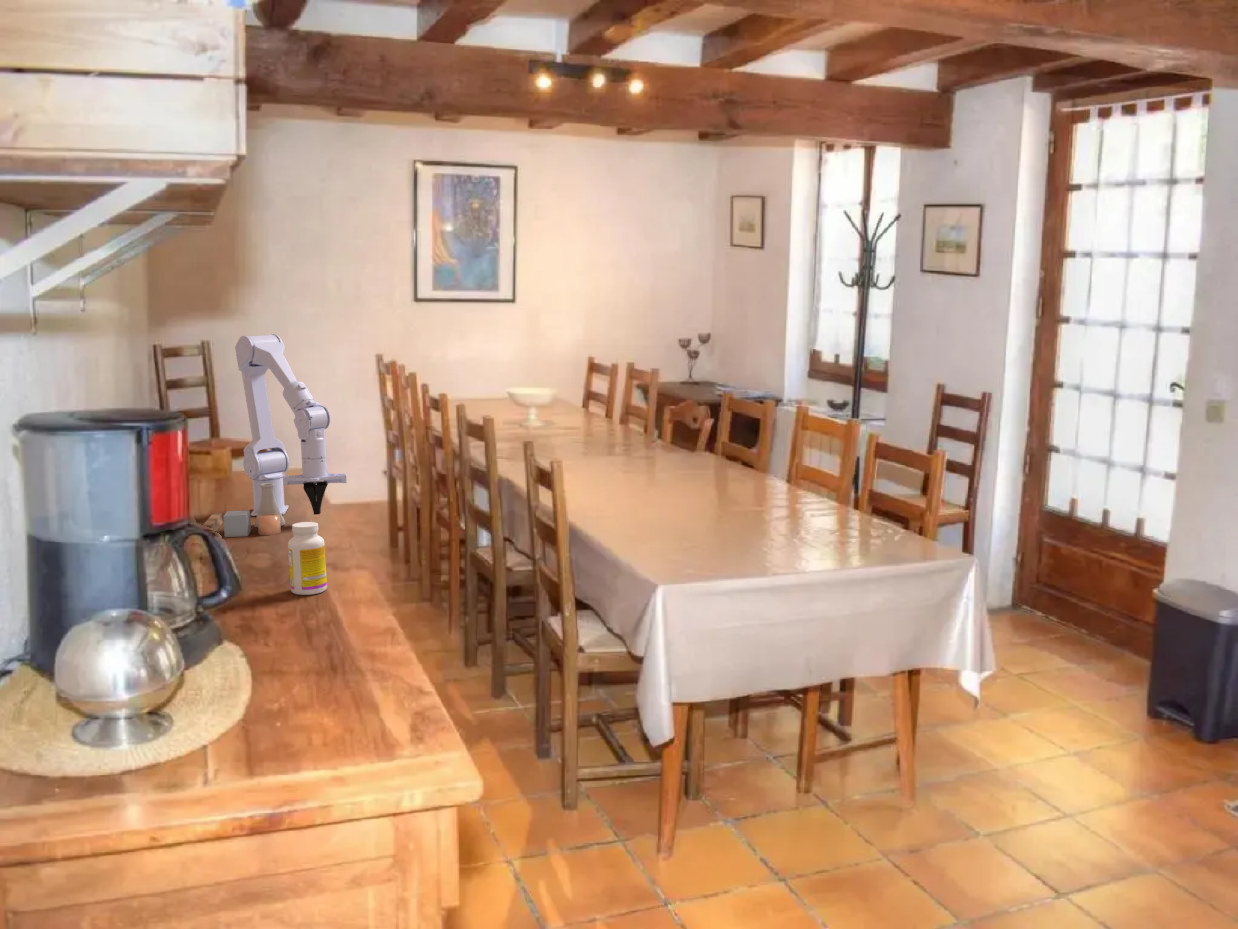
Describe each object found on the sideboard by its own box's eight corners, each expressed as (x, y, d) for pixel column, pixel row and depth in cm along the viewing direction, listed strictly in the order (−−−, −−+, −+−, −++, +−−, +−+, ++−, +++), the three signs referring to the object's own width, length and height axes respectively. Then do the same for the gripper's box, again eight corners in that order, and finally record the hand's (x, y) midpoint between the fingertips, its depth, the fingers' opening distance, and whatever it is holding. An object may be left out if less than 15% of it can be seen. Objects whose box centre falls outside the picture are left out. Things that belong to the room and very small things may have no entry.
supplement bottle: (334, 588, 213) (331, 522, 211) (311, 597, 207) (307, 529, 205) (306, 584, 216) (303, 519, 214) (282, 593, 210) (278, 526, 208)
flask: (290, 522, 270) (287, 481, 268) (278, 529, 263) (275, 487, 261) (261, 522, 271) (258, 481, 269) (248, 529, 263) (245, 487, 262)
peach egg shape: (260, 530, 262) (258, 514, 261) (282, 530, 262) (281, 513, 262) (256, 535, 257) (255, 518, 256) (279, 534, 257) (278, 517, 257)
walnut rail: (214, 523, 269) (213, 513, 269) (222, 523, 270) (222, 512, 269) (202, 536, 256) (201, 526, 255) (211, 536, 256) (211, 525, 256)
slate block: (228, 532, 260) (227, 511, 260) (251, 531, 261) (249, 510, 260) (224, 537, 256) (223, 515, 255) (247, 536, 256) (246, 514, 256)
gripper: (280, 461, 261) (283, 518, 263) (344, 459, 263) (347, 515, 265) (283, 456, 267) (287, 512, 270) (346, 454, 270) (349, 509, 272)
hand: (317, 513), depth 268 cm, fingers closed
